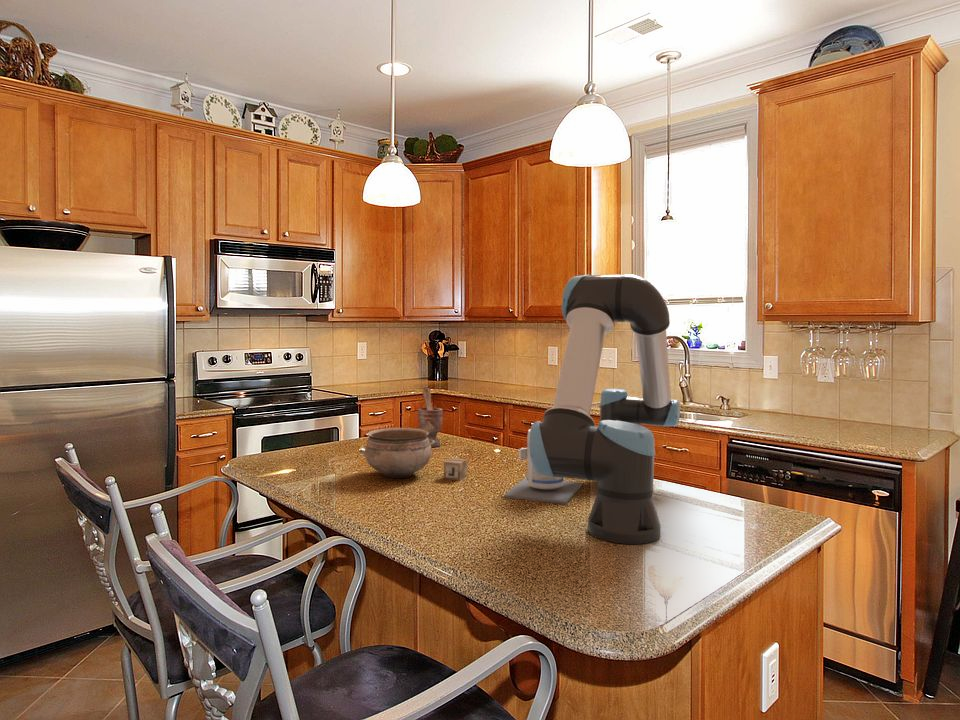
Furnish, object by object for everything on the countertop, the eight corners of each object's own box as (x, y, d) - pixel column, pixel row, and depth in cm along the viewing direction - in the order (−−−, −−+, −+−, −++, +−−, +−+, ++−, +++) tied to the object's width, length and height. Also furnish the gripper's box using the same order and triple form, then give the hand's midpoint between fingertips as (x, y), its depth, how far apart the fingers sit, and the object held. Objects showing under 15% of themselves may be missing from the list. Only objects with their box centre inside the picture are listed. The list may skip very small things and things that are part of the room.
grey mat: (566, 504, 159) (566, 501, 159) (503, 497, 164) (504, 494, 164) (582, 485, 178) (582, 482, 178) (525, 479, 183) (525, 477, 183)
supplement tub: (570, 487, 169) (571, 431, 168) (542, 492, 164) (543, 434, 163) (547, 479, 178) (548, 426, 177) (519, 483, 172) (520, 429, 171)
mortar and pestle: (408, 443, 233) (409, 388, 231) (428, 441, 238) (429, 386, 237) (426, 448, 223) (426, 391, 222) (446, 446, 229) (447, 389, 227)
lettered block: (459, 481, 180) (459, 463, 180) (443, 479, 182) (443, 461, 182) (466, 476, 185) (466, 459, 185) (450, 475, 187) (450, 458, 187)
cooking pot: (378, 489, 170) (379, 443, 170) (342, 475, 185) (342, 433, 184) (453, 475, 187) (453, 433, 186) (414, 463, 201) (415, 424, 200)
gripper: (621, 467, 174) (564, 480, 159) (560, 453, 191) (504, 464, 176) (622, 440, 173) (565, 450, 159) (561, 428, 190) (504, 436, 176)
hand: (533, 457), depth 168 cm, fingers closed on supplement tub, 9 cm apart
